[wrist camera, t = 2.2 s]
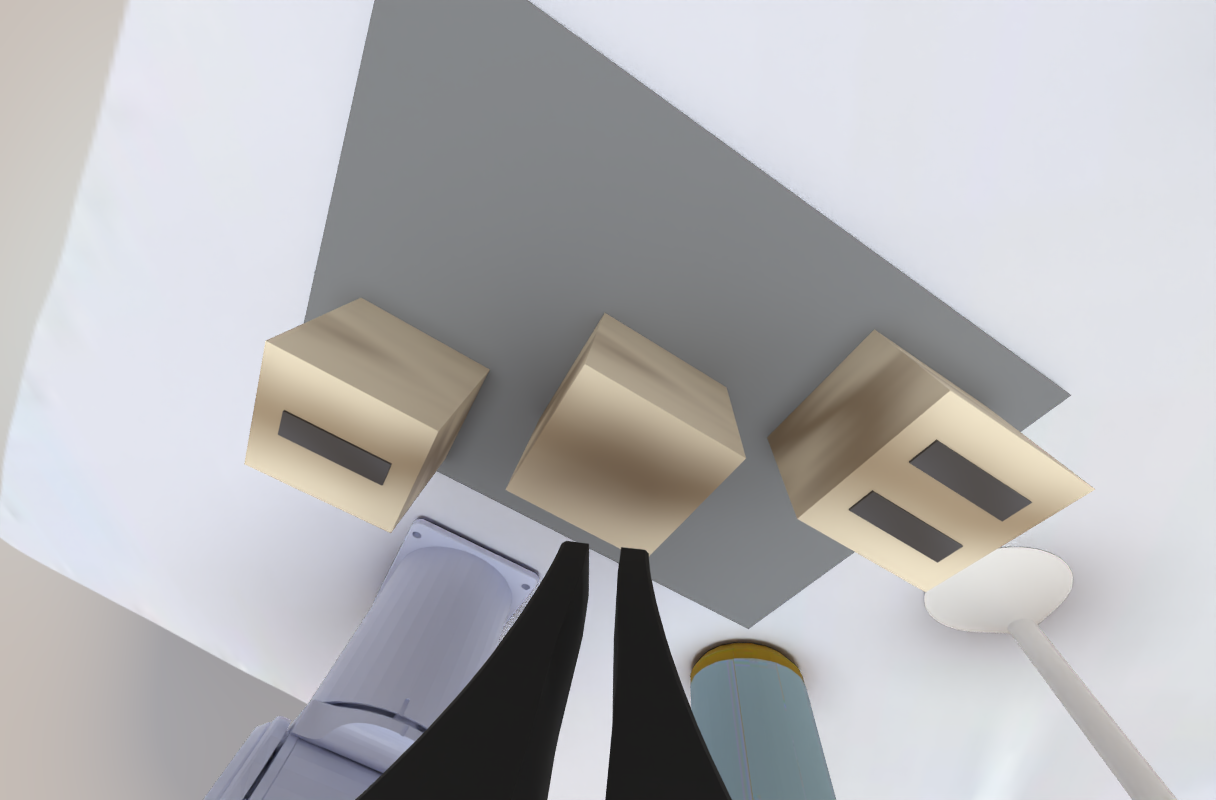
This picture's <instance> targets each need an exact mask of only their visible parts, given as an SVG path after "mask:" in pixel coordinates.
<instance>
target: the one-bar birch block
mask: <svg viewBox="0 0 1216 800" xmlns="http://www.w3.org/2000/svg"><path fill="white" fill-rule="evenodd" d="M489 370H490V369H488V368H486V367H484V366H482V365H481V364H479V363H477V362H475V361H473V360H472V359H470V358H468V357H466V356H465V355H463V354H461V353H459V352H457V351H456V350H454V349H452V348H450V347H449V346H447V345H445V344H443V343H441V342H440V341H438V340H436V339H434V338H432V337H431V336H429V335H427V334H425V333H424V332H422V331H420V330H418V329H416V328H415V327H413V326H411V325H409V324H407V323H406V322H404V321H402V320H400V319H399V318H397V317H395V316H393V315H391V314H390V313H388V312H386V311H384V310H382V309H381V308H379V307H377V306H375V305H374V304H372V303H370V302H368V301H366V300H365V299H363V298H359V299H357V300H355V301H352V302H350V303H348V304H346V305H344V306H341V307H339V308H337V309H335V310H333V311H330V312H328V313H326V314H324V315H322V316H319V317H317V318H315V319H313V320H310V321H308V322H306V323H304V324H302V325H299V326H297V327H295V328H293V329H291V330H288V331H286V332H284V333H282V334H280V335H277V336H275V337H273V338H271V339H269V340H266V342H265V348H264V353H263V359H262V365H261V371H260V377H259V382H258V388H257V394H256V400H255V406H254V411H253V417H252V423H251V429H250V435H249V441H248V446H247V452H246V458H245V465H248V466H250V467H252V468H254V469H256V470H258V471H260V472H262V473H264V474H267V475H269V476H271V477H273V478H275V479H277V480H279V481H281V482H283V483H286V484H288V485H290V486H292V487H294V488H296V489H298V490H300V491H303V492H305V493H307V494H309V495H311V496H313V497H315V498H317V499H319V500H322V501H324V502H326V503H328V504H330V505H332V506H334V507H336V508H339V509H341V510H343V511H345V512H347V513H349V514H351V515H353V516H355V517H358V518H360V519H362V520H364V521H366V522H368V523H370V524H372V525H375V526H377V527H379V528H381V529H383V530H385V531H387V532H389V533H391V532H392V531H393V530H394V528H395V527H396V525H397V524H398V523H399V521H400V520H401V519H402V517H403V516H404V515H405V513H406V512H407V510H408V509H409V508H410V506H411V505H412V504H413V502H414V501H415V500H416V498H417V497H418V495H419V494H420V493H421V491H422V490H423V489H424V487H425V486H426V485H427V483H428V482H429V480H430V479H431V478H432V476H433V475H434V474H435V472H436V471H437V470H438V468H439V467H440V465H441V464H442V463H443V461H444V460H445V458H446V456H447V454H448V452H449V450H450V448H451V446H452V444H453V442H454V440H455V438H456V436H457V434H458V432H459V430H460V428H461V426H462V424H463V422H464V420H465V418H466V416H467V414H468V412H469V410H470V408H471V406H472V404H473V402H474V400H475V398H476V396H477V394H478V392H479V390H480V388H481V386H482V384H483V382H484V380H485V378H486V376H487V374H488V372H489Z"/></svg>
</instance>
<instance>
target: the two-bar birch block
mask: <svg viewBox="0 0 1216 800" xmlns="http://www.w3.org/2000/svg"><path fill="white" fill-rule="evenodd" d="M767 439H768V442H769V444H770V447H771V450H772V452H773V455H774V458H775V461H776V463H777V466H778V469H779V471H780V474H781V477H782V479H783V482H784V485H785V487H786V490H787V493H788V496H789V498H790V501H791V504H792V506H793V509H794V512H795V514H796V517H797V519H798V520H800V521H802V522H804V523H805V524H807V525H809V526H811V527H812V528H814V529H816V530H818V531H819V532H821V533H823V534H825V535H826V536H828V537H830V538H832V539H833V540H835V541H837V542H839V543H840V544H842V545H844V546H846V547H847V548H849V549H851V550H853V551H854V552H856V553H858V554H860V555H861V556H863V557H865V558H867V559H868V560H870V561H872V562H874V563H875V564H877V565H879V566H881V567H882V568H884V569H886V570H888V571H889V572H891V573H893V574H895V575H896V576H898V577H900V578H902V579H903V580H905V581H907V582H909V583H910V584H912V585H914V586H916V587H917V588H919V589H921V590H923V591H924V592H927V591H929V590H930V589H932V588H934V587H935V586H937V585H939V584H940V583H942V582H943V581H945V580H947V579H948V578H950V577H952V576H953V575H955V574H957V573H958V572H960V571H962V570H963V569H965V568H967V567H968V566H970V565H971V564H973V563H975V562H976V561H978V560H980V559H981V558H983V557H985V556H986V555H988V554H990V553H991V552H993V551H995V550H996V549H998V548H999V547H1001V546H1003V545H1004V544H1006V543H1008V542H1009V541H1011V540H1013V539H1014V538H1016V537H1018V536H1019V535H1021V534H1023V533H1024V532H1026V531H1027V530H1029V529H1031V528H1032V527H1034V526H1036V525H1037V524H1039V523H1041V522H1042V521H1044V520H1046V519H1047V518H1049V517H1051V516H1052V515H1054V514H1055V513H1057V512H1059V511H1060V510H1062V509H1064V508H1065V507H1067V506H1069V505H1070V504H1072V503H1074V502H1075V501H1077V500H1078V499H1080V498H1082V497H1083V496H1085V495H1087V494H1088V493H1090V492H1092V491H1093V490H1095V489H1094V488H1093V487H1091V486H1090V485H1089V484H1088V483H1086V482H1085V481H1084V480H1082V479H1081V478H1080V477H1078V476H1077V475H1076V474H1074V473H1073V472H1072V471H1071V470H1069V469H1068V468H1067V467H1065V466H1064V465H1063V464H1061V463H1060V462H1059V461H1057V460H1056V459H1055V458H1053V457H1052V456H1051V455H1050V454H1048V453H1047V452H1046V451H1044V450H1043V449H1042V448H1040V447H1039V446H1038V445H1036V444H1035V443H1034V442H1033V441H1031V440H1030V439H1029V438H1027V437H1026V436H1025V435H1023V434H1022V433H1021V432H1019V431H1018V430H1017V429H1015V428H1014V427H1013V426H1012V425H1010V424H1009V423H1008V422H1006V421H1005V420H1004V419H1002V418H1001V417H1000V416H998V415H997V414H996V413H994V412H993V411H992V410H991V409H989V408H988V407H987V406H985V405H984V404H982V403H981V402H979V401H978V400H976V399H975V398H973V397H972V396H971V395H969V394H968V393H966V392H965V391H963V390H962V389H960V388H959V387H957V386H956V385H955V384H953V383H952V382H950V381H949V380H947V379H946V378H944V377H943V376H942V375H940V374H939V373H937V372H936V371H934V370H933V369H931V368H930V367H928V366H927V365H926V364H924V363H923V362H921V361H920V360H918V359H917V358H915V357H914V356H912V355H911V354H910V353H908V352H907V351H905V350H904V349H902V348H901V347H899V346H898V345H896V344H895V343H894V342H892V341H891V340H889V339H888V338H886V337H885V336H883V335H882V334H880V333H879V332H878V331H876V330H875V329H874V330H873V331H872V332H871V333H870V334H869V335H868V336H867V337H866V338H865V339H864V340H863V341H862V342H861V343H860V344H859V345H858V346H857V347H856V348H855V349H854V350H853V351H852V352H851V353H850V354H849V355H848V356H847V358H846V359H845V360H844V361H843V362H842V363H841V364H840V365H839V366H838V367H837V368H836V369H835V370H834V371H833V372H832V373H831V374H830V375H829V376H828V377H827V378H826V379H825V380H824V381H823V382H822V383H821V384H820V385H819V386H818V387H817V388H816V389H815V390H814V391H813V392H812V393H811V394H810V395H809V396H808V397H807V398H806V399H805V400H804V401H803V402H802V403H801V404H800V405H799V406H798V407H797V408H796V409H795V410H794V411H793V412H792V413H791V414H790V415H789V416H788V417H787V418H786V419H785V420H784V421H783V422H782V423H781V424H780V425H779V426H778V427H777V428H776V429H775V430H774V431H773V432H772V433H771V434H770V435H769V436H768V437H767Z"/></svg>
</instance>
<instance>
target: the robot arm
mask: <svg viewBox="0 0 1216 800" xmlns="http://www.w3.org/2000/svg"><path fill="white" fill-rule="evenodd" d="M538 580H539V577H538V576H537V574H535V573H534V572H532V571H530V570H527V569H525V568H523V567H521V566H519V565H517V564H515V563H513V562H511V561H509V560H507V559H505V558H503V557H501V556H499V555H496V554H494V553H492V552H490V551H488V550H486V549H484V548H482V547H480V546H478V545H476V544H474V543H472V542H470V541H468V540H466V539H463V538H461V537H459V536H457V535H455V534H453V533H451V532H449V531H447V530H445V529H443V528H441V527H439V526H437V525H435V524H432V523H430V522H428V521H426V520H424V519H417V520H415V521H414V523H413V524H412V526H411V528H410V530H409V532H408V534H407V536H406V538H405V540H404V542H403V544H402V546H401V548H400V550H399V552H398V554H397V556H396V558H395V560H394V562H393V564H392V566H391V568H390V570H389V572H388V574H387V576H386V578H385V580H384V582H383V584H382V586H381V588H380V590H379V592H378V594H377V596H376V598H375V600H374V602H373V605H372V607H371V609H370V610H369V612H368V613H367V615H366V616H365V618H364V619H363V621H362V622H361V624H360V625H359V627H358V628H357V630H356V631H355V633H354V634H353V636H352V638H351V639H350V641H349V642H348V644H347V645H346V647H345V648H344V650H343V651H342V653H341V654H340V656H339V657H338V659H337V660H336V662H335V664H334V665H333V667H332V668H331V670H330V671H329V673H328V674H327V676H326V677H325V679H324V680H323V682H322V683H321V685H320V686H319V688H318V689H317V691H316V693H315V694H314V696H313V697H312V699H311V700H310V702H309V703H308V705H307V706H306V707H305V708H304V710H303V711H302V712H301V713H300V714H299V715H298V717H297V718H296V719H295V720H294V722H293V723H292V724H291V725H290V722H291V720H290V719H288V718H285V717H283V716H278V717H276V718H275V719H274V720H273V721H272V722H267V723H265V724H263V725H260V726H258V727H256V728H255V729H254V730H253V731H252V733H251V734H250V735H249V737H248V738H247V739H246V741H245V742H244V744H243V745H242V746H241V748H240V749H239V750H238V752H237V753H236V755H235V756H234V758H233V759H232V760H231V762H230V763H229V764H228V766H227V767H226V768H225V770H224V771H223V772H222V774H221V775H220V777H219V778H218V779H217V781H216V782H215V784H214V785H213V786H212V788H211V789H210V790H209V792H208V793H207V795H206V796H205V797H204V799H203V800H547V798H548V792H549V786H550V780H551V774H552V768H553V762H554V756H555V751H556V746H557V741H558V736H559V732H560V728H561V724H562V719H563V715H564V711H565V707H566V703H567V699H568V695H569V691H570V687H571V682H572V678H573V674H574V670H575V666H576V662H577V658H578V654H579V649H580V645H581V641H582V637H583V630H584V623H585V617H586V610H587V603H588V596H589V544H588V543H579V542H570V541H565V542H564V543H562V544H561V546H560V549H559V551H558V553H557V555H556V557H555V559H554V561H553V563H552V564H551V566H550V568H549V570H548V572H547V573H546V575H545V577H544V578H543V580H542V582H541V583H540V585H539V587H538V588H537V590H536V592H535V593H534V595H533V596H532V598H531V599H530V601H529V602H528V604H527V605H526V607H525V609H524V610H523V612H522V613H521V615H520V616H519V617H518V619H517V620H516V622H515V623H514V625H513V626H512V627H511V629H510V630H509V631H508V633H507V634H506V636H505V637H504V638H503V640H502V641H501V642H500V644H499V645H498V642H499V639H500V636H501V633H502V630H503V627H504V625H505V624H506V622H507V621H508V620H509V619H510V617H511V616H512V615H513V614H514V613H515V611H516V610H517V609H518V608H519V606H520V605H521V604H522V603H523V602H524V600H525V599H526V598H527V597H528V595H529V594H530V593H531V592H532V591H533V589H534V588H535V587H536V586H537V584H538ZM497 645H498V647H497ZM289 725H290V726H289ZM287 728H288V729H287ZM605 800H732V799H731V797H730V795H729V792H728V790H727V788H726V786H725V784H724V782H723V780H722V778H721V776H720V774H719V771H718V769H717V767H716V765H715V763H714V761H713V759H712V757H711V755H710V752H709V750H708V748H707V745H706V743H705V741H704V738H703V736H702V734H701V731H700V729H699V727H698V725H697V722H696V720H695V717H694V715H693V712H692V710H691V707H690V705H689V702H688V700H687V697H686V695H685V692H684V689H683V687H682V684H681V681H680V678H679V676H678V673H677V670H676V667H675V664H674V661H673V658H672V655H671V652H670V649H669V646H668V643H667V640H666V636H665V633H664V629H663V625H662V622H661V618H660V615H659V611H658V607H657V603H656V599H655V594H654V589H653V585H652V579H651V573H650V564H649V553H648V552H647V551H646V550H643V549H634V548H625V547H621V552H620V560H619V568H618V579H617V596H616V613H615V630H614V663H613V724H612V736H611V747H610V758H609V768H608V779H607V789H606V799H605Z"/></svg>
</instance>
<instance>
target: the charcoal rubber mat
mask: <svg viewBox="0 0 1216 800" xmlns="http://www.w3.org/2000/svg"><path fill="white" fill-rule="evenodd" d="M359 298H363V299H365V300H366V301H368V302H370V303H372V304H374V305H375V306H377V307H379V308H381V309H382V310H384V311H386V312H388V313H390V314H391V315H393V316H395V317H397V318H399V319H400V320H402V321H404V322H406V323H407V324H409V325H411V326H413V327H415V328H416V329H418V330H420V331H422V332H424V333H425V334H427V335H429V336H431V337H432V338H434V339H436V340H438V341H440V342H441V343H443V344H445V345H447V346H449V347H450V348H452V349H454V350H456V351H457V352H459V353H461V354H463V355H465V356H466V357H468V358H470V359H472V360H473V361H475V362H477V363H479V364H481V365H482V366H484V367H486V368H488V369H490V370H489V372H488V374H487V376H486V378H485V380H484V382H483V384H482V386H481V388H480V390H479V392H478V394H477V396H476V398H475V400H474V402H473V404H472V406H471V408H470V410H469V412H468V414H467V416H466V418H465V420H464V422H463V424H462V426H461V428H460V430H459V432H458V434H457V436H456V438H455V440H454V442H453V444H452V446H451V448H450V450H449V452H448V454H447V456H446V458H445V460H444V461H443V463H442V464H441V465H440V467H439V468H438V470H437V471H438V472H440V473H442V474H444V475H446V476H448V477H450V478H451V479H453V480H455V481H457V482H459V483H461V484H463V485H465V486H467V487H469V488H471V489H473V490H475V491H477V492H479V493H481V494H483V495H485V496H487V497H489V498H491V499H493V500H495V501H497V502H499V503H501V504H503V505H505V506H507V507H509V508H511V509H513V510H515V511H517V512H519V513H521V514H523V515H525V516H526V517H528V518H530V519H532V520H534V521H536V522H538V523H540V524H542V525H544V526H546V527H548V528H550V529H552V530H554V531H556V532H558V533H560V534H562V535H564V536H566V537H568V538H570V539H572V540H574V541H576V542H579V543H588V544H589V548H590V549H592V550H594V551H596V552H598V553H600V554H601V555H603V556H605V557H607V558H609V559H611V560H613V561H615V562H617V563H619V560H620V552H621V549H619V548H618V547H616V546H614V545H612V544H610V543H608V542H606V541H604V540H602V539H600V538H598V537H596V536H594V535H592V534H590V533H588V532H586V531H584V530H582V529H581V528H579V527H577V526H575V525H573V524H571V523H569V522H567V521H565V520H563V519H561V518H559V517H557V516H555V515H553V514H551V513H549V512H547V511H545V510H544V509H542V508H540V507H538V506H536V505H534V504H532V503H530V502H528V501H526V500H524V499H522V498H520V497H518V496H516V495H514V494H512V493H510V492H508V491H507V490H506V488H507V486H508V483H509V481H510V479H511V477H512V475H513V473H514V471H515V469H516V467H517V465H518V463H519V461H520V459H521V456H522V454H523V452H524V450H525V448H526V446H527V444H528V442H529V440H530V438H531V436H532V434H533V432H534V429H535V427H536V425H537V423H538V421H539V419H540V417H541V416H542V414H543V412H544V411H545V409H546V408H547V406H548V404H549V403H550V401H551V399H552V398H553V396H554V395H555V393H556V391H557V390H558V388H559V386H560V385H561V383H562V381H563V380H564V378H565V377H566V375H567V373H568V372H569V370H570V368H571V367H572V365H573V364H574V362H575V360H576V359H577V357H578V355H579V354H580V352H581V351H582V349H583V347H584V346H585V344H586V342H587V341H588V339H589V337H590V336H591V334H592V333H593V331H594V329H595V328H596V326H597V324H598V323H599V321H600V320H601V318H602V316H603V315H604V313H606V314H608V315H609V316H611V317H613V318H614V319H616V320H618V321H619V322H621V323H622V324H624V325H626V326H627V327H629V328H631V329H632V330H634V331H635V332H637V333H639V334H640V335H642V336H644V337H645V338H647V339H649V340H650V341H652V342H653V343H655V344H657V345H658V346H660V347H662V348H663V349H665V350H666V351H668V352H670V353H671V354H673V355H675V356H676V357H678V358H679V359H681V360H683V361H684V362H686V363H688V364H689V365H691V366H693V367H694V368H696V369H697V370H699V371H701V372H702V373H704V374H706V375H707V376H709V377H710V378H712V379H714V380H715V381H717V382H719V383H720V384H722V385H723V386H725V387H727V391H728V395H729V398H730V402H731V405H732V409H733V413H734V416H735V420H736V424H737V427H738V431H739V434H740V438H741V442H742V445H743V449H744V453H745V456H746V459H745V460H744V461H743V462H742V463H741V464H740V465H739V466H738V467H737V468H736V469H735V470H734V471H733V472H732V473H731V474H730V475H729V476H728V477H727V478H726V479H725V480H724V481H723V482H722V483H721V484H720V485H719V486H718V487H717V488H716V489H715V490H714V491H713V492H712V493H711V494H710V495H709V496H708V497H707V498H706V499H705V500H704V501H703V502H702V503H701V504H700V505H699V506H698V507H697V508H696V509H695V511H694V512H693V513H692V514H691V515H690V516H689V517H688V518H687V519H686V520H685V521H684V522H683V523H682V524H681V525H680V526H679V527H678V528H677V529H676V530H675V531H674V532H673V533H672V534H671V535H670V536H669V537H668V538H667V539H666V540H665V541H664V542H663V543H662V544H661V545H660V546H659V547H658V548H657V549H656V550H655V551H654V552H653V553H652V554H651V555H650V556H649V564H650V573H651V579H652V580H653V581H655V582H657V583H659V584H661V585H663V586H665V587H667V588H669V589H671V590H673V591H674V592H676V593H678V594H680V595H682V596H684V597H686V598H688V599H690V600H692V601H694V602H696V603H698V604H700V605H702V606H704V607H706V608H708V609H710V610H712V611H714V612H716V613H718V614H720V615H722V616H724V617H726V618H728V619H730V620H732V621H734V622H736V623H738V624H740V625H742V626H744V627H746V628H748V629H749V628H750V627H752V626H753V625H755V624H756V623H757V622H759V621H760V620H761V619H763V618H764V617H766V616H767V615H768V614H770V613H771V612H773V611H774V610H775V609H777V608H778V607H779V606H781V605H782V604H784V603H785V602H786V601H788V600H789V599H790V598H792V597H793V596H795V595H796V594H797V593H799V592H800V591H802V590H803V589H804V588H806V587H807V586H808V585H810V584H811V583H813V582H814V581H815V580H817V579H818V578H820V577H821V576H822V575H824V574H825V573H826V572H828V571H829V570H831V569H832V568H833V567H835V566H836V565H837V564H839V563H840V562H842V561H843V560H844V559H846V558H847V557H849V556H850V555H851V554H853V553H854V551H853V550H851V549H849V548H847V547H846V546H844V545H842V544H840V543H839V542H837V541H835V540H833V539H832V538H830V537H828V536H826V535H825V534H823V533H821V532H819V531H818V530H816V529H814V528H812V527H811V526H809V525H807V524H805V523H804V522H802V521H800V520H798V519H797V517H796V514H795V512H794V509H793V506H792V504H791V501H790V498H789V496H788V493H787V490H786V487H785V485H784V482H783V479H782V477H781V474H780V471H779V469H778V466H777V463H776V461H775V458H774V455H773V452H772V450H771V447H770V444H769V442H768V439H767V437H768V436H769V435H770V434H771V433H772V432H773V431H774V430H775V429H776V428H777V427H778V426H779V425H780V424H781V423H782V422H783V421H784V420H785V419H786V418H787V417H788V416H789V415H790V414H791V413H792V412H793V411H794V410H795V409H796V408H797V407H798V406H799V405H800V404H801V403H802V402H803V401H804V400H805V399H806V398H807V397H808V396H809V395H810V394H811V393H812V392H813V391H814V390H815V389H816V388H817V387H818V386H819V385H820V384H821V383H822V382H823V381H824V380H825V379H826V378H827V377H828V376H829V375H830V374H831V373H832V372H833V371H834V370H835V369H836V368H837V367H838V366H839V365H840V364H841V363H842V362H843V361H844V360H845V359H846V358H847V356H848V355H849V354H850V353H851V352H852V351H853V350H854V349H855V348H856V347H857V346H858V345H859V344H860V343H861V342H862V341H863V340H864V339H865V338H866V337H867V336H868V335H869V334H870V333H871V332H872V331H873V330H874V329H875V330H876V331H878V332H879V333H880V334H882V335H883V336H885V337H886V338H888V339H889V340H891V341H892V342H894V343H895V344H896V345H898V346H899V347H901V348H902V349H904V350H905V351H907V352H908V353H910V354H911V355H912V356H914V357H915V358H917V359H918V360H920V361H921V362H923V363H924V364H926V365H927V366H928V367H930V368H931V369H933V370H934V371H936V372H937V373H939V374H940V375H942V376H943V377H944V378H946V379H947V380H949V381H950V382H952V383H953V384H955V385H956V386H957V387H959V388H960V389H962V390H963V391H965V392H966V393H968V394H969V395H971V396H972V397H973V398H975V399H976V400H978V401H979V402H981V403H982V404H984V405H985V406H987V407H988V408H989V409H991V410H992V411H993V412H994V413H996V414H997V415H998V416H1000V417H1001V418H1002V419H1004V420H1005V421H1006V422H1008V423H1009V424H1010V425H1012V426H1013V427H1014V428H1015V429H1017V430H1018V431H1019V432H1021V431H1023V430H1024V429H1025V428H1027V427H1028V426H1029V425H1031V424H1032V423H1034V422H1035V421H1036V420H1038V419H1039V418H1041V417H1042V416H1043V415H1045V414H1046V413H1047V412H1049V411H1050V410H1052V409H1053V408H1054V407H1056V406H1057V405H1058V404H1060V403H1061V402H1063V401H1064V400H1065V399H1067V398H1068V397H1070V396H1071V395H1070V394H1069V393H1068V392H1066V391H1065V390H1063V389H1062V388H1061V387H1059V386H1058V385H1057V384H1055V383H1054V382H1052V381H1051V380H1050V379H1048V378H1047V377H1046V376H1044V375H1043V374H1041V373H1040V372H1039V371H1037V370H1036V369H1035V368H1033V367H1032V366H1030V365H1029V364H1028V363H1026V362H1025V361H1024V360H1022V359H1021V358H1019V357H1018V356H1017V355H1015V354H1014V353H1013V352H1011V351H1010V350H1008V349H1007V348H1006V347H1004V346H1003V345H1001V344H1000V343H999V342H997V341H996V340H995V339H993V338H992V337H990V336H989V335H988V334H986V333H985V332H984V331H982V330H981V329H979V328H978V327H977V326H975V325H974V324H973V323H971V322H970V321H968V320H967V319H966V318H964V317H963V316H962V315H960V314H959V313H957V312H956V311H955V310H953V309H952V308H951V307H949V306H948V305H946V304H945V303H944V302H942V301H941V300H940V299H938V298H937V297H935V296H934V295H933V294H931V293H930V292H929V291H927V290H926V289H924V288H923V287H922V286H920V285H919V284H918V283H916V282H915V281H913V280H912V279H911V278H909V277H908V276H906V275H905V274H904V273H902V272H901V271H900V270H898V269H897V268H895V267H894V266H893V265H891V264H890V263H889V262H887V261H886V260H884V259H883V258H882V257H880V256H879V255H878V254H876V253H875V252H873V251H872V250H871V249H869V248H868V247H867V246H865V245H864V244H862V243H861V242H860V241H858V240H857V239H856V238H854V237H853V236H851V235H850V234H849V233H847V232H846V231H845V230H843V229H842V228H840V227H839V226H838V225H836V224H835V223H834V222H832V221H831V220H829V219H828V218H827V217H825V216H824V215H823V214H821V213H820V212H818V211H817V210H816V209H814V208H813V207H811V206H810V205H809V204H807V203H806V202H805V201H803V200H802V199H800V198H799V197H798V196H796V195H795V194H794V193H792V192H791V191H789V190H788V189H787V188H785V187H784V186H783V185H781V184H780V183H778V182H777V181H776V180H774V179H773V178H772V177H770V176H769V175H767V174H766V173H765V172H763V171H762V170H761V169H759V168H758V167H756V166H755V165H754V164H752V163H751V162H750V161H748V160H747V159H745V158H744V157H743V156H741V155H740V154H739V153H737V152H736V151H734V150H733V149H732V148H730V147H729V146H728V145H726V144H725V143H723V142H722V141H721V140H719V139H718V138H716V137H715V136H714V135H712V134H711V133H710V132H708V131H707V130H705V129H704V128H703V127H701V126H700V125H699V124H697V123H696V122H694V121H693V120H692V119H690V118H689V117H688V116H686V115H685V114H683V113H682V112H681V111H679V110H678V109H677V108H675V107H674V106H672V105H671V104H670V103H668V102H667V101H666V100H664V99H663V98H661V97H660V96H659V95H657V94H656V93H655V92H653V91H652V90H650V89H649V88H648V87H646V86H645V85H644V84H642V83H641V82H639V81H638V80H637V79H635V78H634V77H632V76H631V75H630V74H628V73H627V72H626V71H624V70H623V69H621V68H620V67H619V66H617V65H616V64H615V63H613V62H612V61H610V60H609V59H608V58H606V57H605V56H604V55H602V54H601V53H599V52H598V51H597V50H595V49H594V48H593V47H591V46H590V45H588V44H587V43H586V42H584V41H583V40H582V39H580V38H579V37H577V36H576V35H575V34H573V33H572V32H571V31H569V30H568V29H566V28H565V27H564V26H562V25H561V24H560V23H558V22H557V21H555V20H554V19H553V18H551V17H550V16H549V15H547V14H546V13H544V12H543V11H542V10H540V9H539V8H537V7H536V6H535V5H533V4H532V3H531V2H529V1H528V0H375V1H374V5H373V10H372V15H371V19H370V24H369V28H368V33H367V37H366V42H365V46H364V51H363V56H362V60H361V65H360V69H359V74H358V78H357V83H356V88H355V92H354V97H353V101H352V106H351V110H350V115H349V119H348V124H347V129H346V133H345V138H344V142H343V147H342V151H341V156H340V161H339V165H338V170H337V174H336V179H335V183H334V188H333V193H332V197H331V202H330V206H329V211H328V215H327V220H326V224H325V229H324V234H323V238H322V243H321V247H320V252H319V256H318V261H317V266H316V270H315V275H314V279H313V284H312V288H311V293H310V297H309V302H308V307H307V311H306V316H305V320H304V323H306V322H308V321H310V320H313V319H315V318H317V317H319V316H322V315H324V314H326V313H328V312H330V311H333V310H335V309H337V308H339V307H341V306H344V305H346V304H348V303H350V302H352V301H355V300H357V299H359Z"/></svg>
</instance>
